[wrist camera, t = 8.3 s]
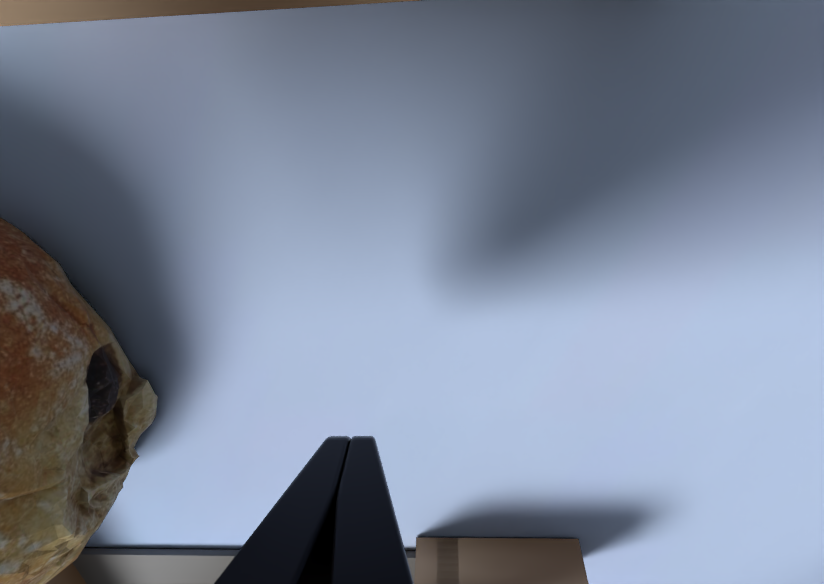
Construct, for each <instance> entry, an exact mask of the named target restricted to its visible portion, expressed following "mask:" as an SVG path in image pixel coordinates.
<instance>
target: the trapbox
mask: <svg viewBox="0 0 824 584" xmlns="http://www.w3.org/2000/svg"><path fill="white" fill-rule="evenodd" d="M403 1H419V0H0V26H12V25H29V24H45V23H61V22H78V21H94V20H110V19H126V18H143V17H159V16H175V15H191V14H208V13H224V12H240V11H257V10H273V9H289V8H305V7H322V6H338V5H354V4H370V3H387V2H403ZM239 551H240V550H204V549H98V548H84V549H83V550H82V552H81V553H80V555H79V556H78V558H77V559H76V560H75V561H73V562H72V563H71V564H70V565H68V566H67V567H66V568H65V569H63V570H62V571H61V572H60V573H58V574H57V575H56V576H55V577H53V578H52V579H51V580H49V581H48V582H47V583H45V584H214V583H215V581H216V580H217V579H218V578H219V576H220V575H221V574H222V572H223V571H224V570H225V569H226V567H227V566H228V565H229V563H230V562H231V561H232V560H233V558H234V557H235V556H236V554H237V553H238V552H239ZM405 553H406V557H407V560H408V564H409V568H410V571H411V575H412V579H413V583H414V584H588V580H587V575H586V571H585V566H584V562H583V557H582V553H581V548H580V544H579V539H548V538H417V537H416V551H405Z"/></svg>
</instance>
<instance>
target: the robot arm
mask: <svg viewBox="0 0 824 584" xmlns="http://www.w3.org/2000/svg"><path fill="white" fill-rule="evenodd" d="M214 584H414V583H413V579H412V575H411V571H410V568H409V564H408V560H407V557H406V553H405V549H404V545H403V542H402V538H401V534H400V530H399V527H398V523H397V519H396V516H395V512H394V508H393V504H392V501H391V497H390V493H389V489H388V486H387V482H386V478H385V475H384V471H383V467H382V463H381V460H380V456H379V452H378V448H377V445H376V441H375V438H374V437H373V436H354V437H352V439H351V438H350V437H348V436H331V437H328V438H327V439H326V440H325V441H324V442H323V443H322V445H321V446H320V447H319V449H318V450H317V451H316V452H315V454H314V455H313V456H312V458H311V459H310V460H309V461H308V463H307V464H306V465H305V467H304V468H303V469H302V470H301V472H300V473H299V474H298V476H297V477H296V478H295V480H294V481H293V482H292V483H291V485H290V486H289V487H288V489H287V490H286V491H285V492H284V494H283V495H282V496H281V498H280V499H279V500H278V501H277V503H276V504H275V505H274V507H273V508H272V509H271V511H270V512H269V513H268V514H267V516H266V517H265V518H264V520H263V521H262V522H261V523H260V525H259V526H258V527H257V529H256V530H255V531H254V532H253V534H252V535H251V536H250V538H249V539H248V540H247V541H246V543H245V544H244V545H243V547H242V548H241V549H240V551H239V552H238V553H237V554H236V556H235V557H234V558H233V560H232V561H231V562H230V563H229V565H228V566H227V567H226V569H225V570H224V571H223V572H222V574H221V575H220V576H219V578H218V579H217V580H216V581H215V583H214Z"/></svg>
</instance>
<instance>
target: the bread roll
mask: <svg viewBox="0 0 824 584" xmlns="http://www.w3.org/2000/svg"><path fill="white" fill-rule="evenodd" d="M157 399H158V396H157V395H155V393H154V391H153V389H152V387H151V385H150V384H149V382H148V380H146V379H143V378H140V376H139V375H138V373H137V372H136V370H135V369H134V367H133V366H132V364H131V363H130V361H129V360H128V358H127V357H126V355H125V353H124V352H123V350H122V348H121V346H120V345H119V343H118V341H117V339H116V338H115V336H114V334H113V332H112V331H111V329H110V327H109V326H108V325H107V324H106V323H105V322H104V320H103V319H102V318H101V317H100V316H99V315H98V314H97V313H96V312H95V310H94V309H93V308H92V307H91V306H90V305H89V304H88V303H87V301H86V300H85V299H84V298H83V297H82V296H81V295H80V294H79V293H78V292H77V290H76V289H75V288H74V287H73V286H72V285H71V283H70V281H69V279H68V278H67V276H66V274H65V272H64V270H63V269H62V267H61V265H60V264H59V263H58V262H57V261H56V260H54V259H53V258H52V257H51V256H50V255H49V254H48V253H46V252H45V251H44V250H43V249H42V248H40V247H39V246H38V245H37V244H36V243H34V242H33V241H32V240H31V239H30V238H29V237H28V236H27V235H26V234H25V233H23V232H22V231H20V230H19V229H18V228H16V227H15V226H13V225H12V224H10V223H8V222H7V221H5V220H3V219H2V218H0V584H45V583H47V582H48V581H49V580H51V579H52V578H53V577H55V576H56V575H57V574H58V573H60V572H61V571H62V570H63V569H65V568H66V567H67V566H68V565H70V564H71V563H72V562H73V561H75V560H76V559H77V558H78V556H79V555H80V553H81V552H82V550H83V549H84V547H85V546H86V544H87V542H88V540H89V539H90V537H91V536H92V535H93V534H94V533H95V532H96V530H97V529H98V528H99V527H100V525H101V523H102V522H103V520H104V518H105V517H106V515H107V513H108V512H109V510H110V508H111V507H112V505H113V504H114V502H115V500H116V498H117V496H118V493H119V492H120V490H121V489H122V488H123V482H124V480H125V478H126V477H127V475H128V472H129V469H130V467H131V465H132V464H133V462H134V461H135V460H136V459H137V458H138V457H139V456H138V454H137V452H136V450H135V449H134V447H135V445H136V442H137V440H138V439H139V437H140V435H141V434H142V433H143V432H144V431H145V430H146V429H147V428H148V427H149V426H150V425H151V424H152V422H153V420H154V419H155V417H156V409H157Z"/></svg>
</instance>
